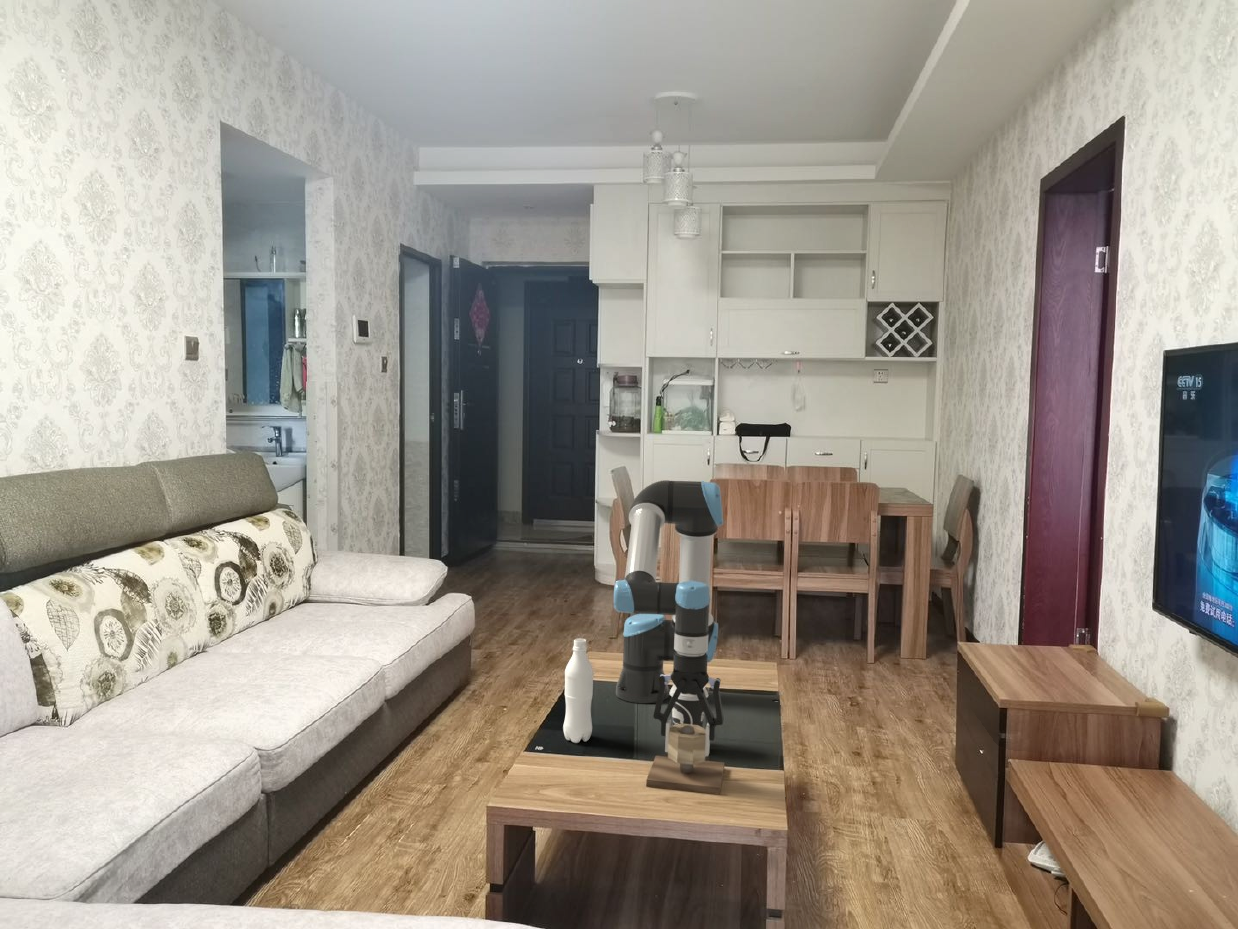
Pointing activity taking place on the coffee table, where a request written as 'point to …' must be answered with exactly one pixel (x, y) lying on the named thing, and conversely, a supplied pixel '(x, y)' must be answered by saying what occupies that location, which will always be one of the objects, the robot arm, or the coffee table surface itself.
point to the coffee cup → (687, 709)
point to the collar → (686, 745)
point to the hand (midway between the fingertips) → (687, 751)
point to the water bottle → (578, 694)
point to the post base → (686, 773)
